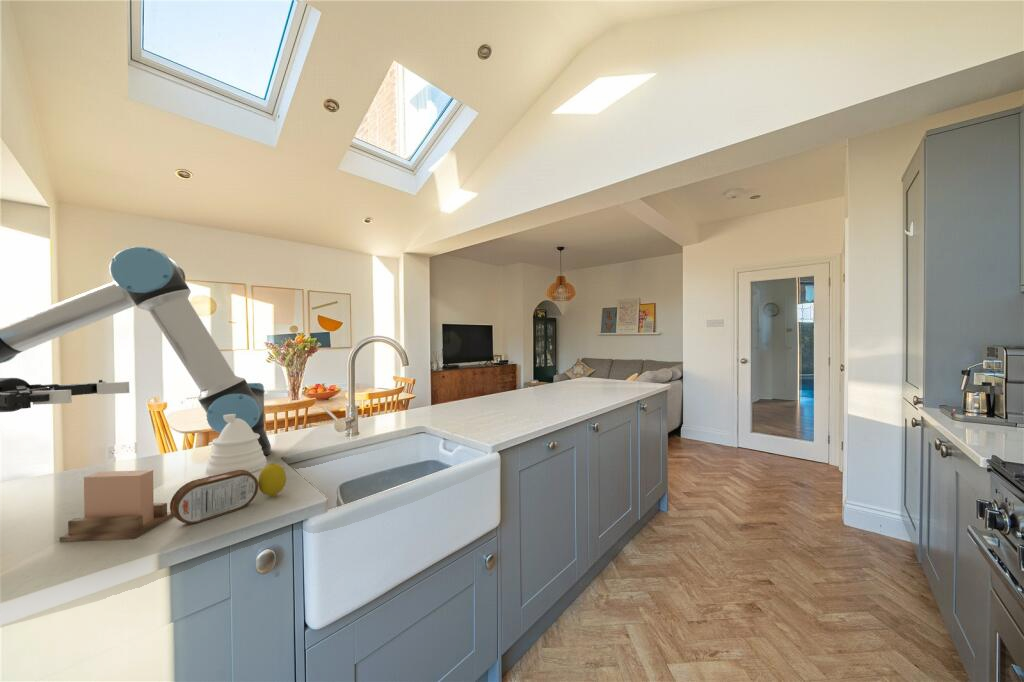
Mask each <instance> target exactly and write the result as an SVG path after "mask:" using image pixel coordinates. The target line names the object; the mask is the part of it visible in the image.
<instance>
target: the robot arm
mask: <svg viewBox="0 0 1024 682" xmlns="http://www.w3.org/2000/svg"><path fill="white" fill-rule="evenodd" d="M109 274H110V276H111V278H112V280H113V281H112V282H110V283H107V284H104V285H102V286H99V287H97V288H93V289H91V290H89V291H87V292H86V291H85V292H83V293H81V294H78V295H75V296H73V297H71V298H68V299H65V300H63V301H60V302H58V303H54V304H52V305H50V306H49V305H48V306H47V307H44V308H41V309H40V310H37V311H34V312H30V313H27V314H25V315H22V316H21V317H18V318H15V319H13V320H10V321H7V322H5V323H2V324H0V364H2V363H6V362H9V361H12V360H13V359H14V358H15V357H17V355H18V354H20V353H22V352H26V351H27V350H30V349H32V348H36V347H37V346H40V345H42V344H44V343H47V342H49V341H51V340H55V339H56V338H59V337H61V336H65V335H67V334H70V333H71V332H74V331H76V330H79V329H81V328H82V329H83V328H85V326H89V325H91V324H94V323H97V322H99V321H101V320H103V319H106V318H108V317H111V316H113V315H116V314H119V313H121V312H123V311H125V310H128V309H130V308H133V307H135V306H136V307H137V308H138V309H141V310H145V311H147V312H149V313H150V315H151V317H152V318H153V320H154V321H155V323H156V324H157V327H159V329H160V331H161V332H162V334H163V335H164V337H165V338H166V339H167V342H168V343H169V345H170V347H171V348H172V350H173V351H174V352H175V354H176V356H177V357H178V359H179V360H180V361H181V363H182V365H183V366H184V367H185V370H186V371H187V373H188V374H189V375H190V377H191V378H192V380H193V381H194V383H195V384H196V386H197V389H199V391H200V394H199V396H198V399H197V401H198V402H199V404H200V405H201V407H202V408H203V410H204V411H205V413H206V415H205V416H206V420H207V424H208V426H209V427H210V428H211V429H212V430H213V431H214V432H216V433H218V434H219V435H220V434H221V432H222V430H223V429H224V427H225V426H226V425H227V424H228V422H226V421H225V420H224V418H223V415H227V414H236V417H235V418H239V419H242V420H244V421H245V422H246V423H247V424H248V425H249V426H250V427H251V429H252V430H253V432H254V433H257V434H259V435H260V437H259V439H257V440H258V442H259V444H260V445H261V447H262V448H261V449H262V451H263V454H264V456H265V455H267V454H268V453H270V452H272V447H271V443H270V442H271V441H270V440H269V437H268V435H267V433H266V430H265V393H266V392H265V387H264V385H263V383H261V382H249V383H248V382H247V380H246V379H245V378H244V377H239V376H237V375H236V374H235V373H234V371H233V370H232V368H231V367H230V365H229V362H227V360H226V359H225V357H224V355H223V354H222V352H221V350H220V348H219V347H218V345H217V344H216V342H215V340H214V339H213V337H212V335H211V334H210V332H209V331H208V330H207V328H206V326H205V324H204V323H203V321H202V319H201V317H200V316H199V314H198V313H197V311H196V310H195V308H194V306H193V305H192V304H191V302H190V300H189V297H190V295H191V289H190V288H189V286H188V284H187V283H186V273H185V272H184V269H183V267H182V266H181V265H180V264H179V263H178V262H177V261H175V260H174V259H171V258H169V257H168V256H167V255H166V253H164V252H162V251H160V250H157V249H154V248H150V247H146V246H132V247H131V246H130V247H128V248H125V249H122V250H120V251H118V252H117V253H116V254H115V255H114V256H113V258H112V259H111V261H110V264H109ZM94 394H97V395H111V394H130V381H113V382H107V381H103V379H98V382H87V383H86V382H84V383H67V384H58V383H54V384H53V383H51V384H40V383H37V384H36V383H35V384H34V383H33V384H29V383H28V382H27V381H26V380H25V379H22V378H18V377H0V413H11V412H16V411H19V410H23V409H31V408H32V406H31V405H51V404H52V405H56V404H60V405H61V404H71V403H72V402H73V401H72V396H81V395H94ZM219 435H218V436H219ZM270 454H271V453H270ZM268 455H269V454H268ZM268 455H267V456H268ZM265 457H266V456H265Z"/></svg>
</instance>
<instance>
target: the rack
mask: <svg viewBox="0 0 1024 682" xmlns="http://www.w3.org/2000/svg"><path fill="white" fill-rule="evenodd" d="M173 517H174V516H173V515H172V514H171V511H169V512H168V502H154V519H153V520H152V521H150V522H148V523H146V524H145V525H143V515H142V516H117V517H92V518H84V517H75V518H72V519H69V520H68V522H67V527H68V528H67V529H68V531H67V533H65V534H64V535H61V536H59V537H58V538H59V539H58V542H60V543H63V542H84V541H85V542H86V541H87V540H90V541H105V540H107V541H109V540H129V539H131V540H133V539H137V538H139V537H141V536H143V535H144V534H146V533H147V532H149V531H151V530H152V529H154V528H156V527H157V526H159V525H161V524H163V523H165V522H166V521H168V520H170V519H171V518H173ZM87 542H88V541H87Z"/></svg>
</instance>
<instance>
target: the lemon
mask: <svg viewBox="0 0 1024 682" xmlns="http://www.w3.org/2000/svg"><path fill="white" fill-rule="evenodd" d="M286 475H287V474H286V471H285V469H284V467H283V466H281V465H280V464H277V463H274V462H270V463H269V465H266V467H265V468H264V469H263V470H262V471H261V473H260V476H259V480H258V490H260V492H261V493H262V494H263V495H265V496H269V497H271V498H274V497H276V495H277V494H279V493H280V492H281V491H282V490H283V489H284V487H285V485H286V483H287V476H286Z"/></svg>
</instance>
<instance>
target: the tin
mask: <svg viewBox="0 0 1024 682" xmlns="http://www.w3.org/2000/svg"><path fill="white" fill-rule="evenodd" d="M258 491H259V485H258V480H257V479H256V477H255V476H254V475H252V474H251V473H250V472H248V471H246V470H235V471H231V472H227V473H222V474H218V475H214V476H210V477H202V478H201V477H200V478H197V479H194V480H191V481H189V482H187V483H185V484H183V485H182V486H181V487H179V489H178V490H176V491H175V493H174V494H173V496H172V498H171V500H170V504H169V512H171V514H172V515H173V517H174V518H175V519H176V520H178V521H179V522H181V523H184V524H198V523H201V521H202V522H204V521H207V520H210V519H214V518H217V517H220V516H223V514H224V515H227V514H229V513H233V512H236V511H239V510H242V509H244V508H245V507H247V506H248V505H249V504H251V502H252V501H253V500H254V499H255V497H256V496H257V494H258Z"/></svg>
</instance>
